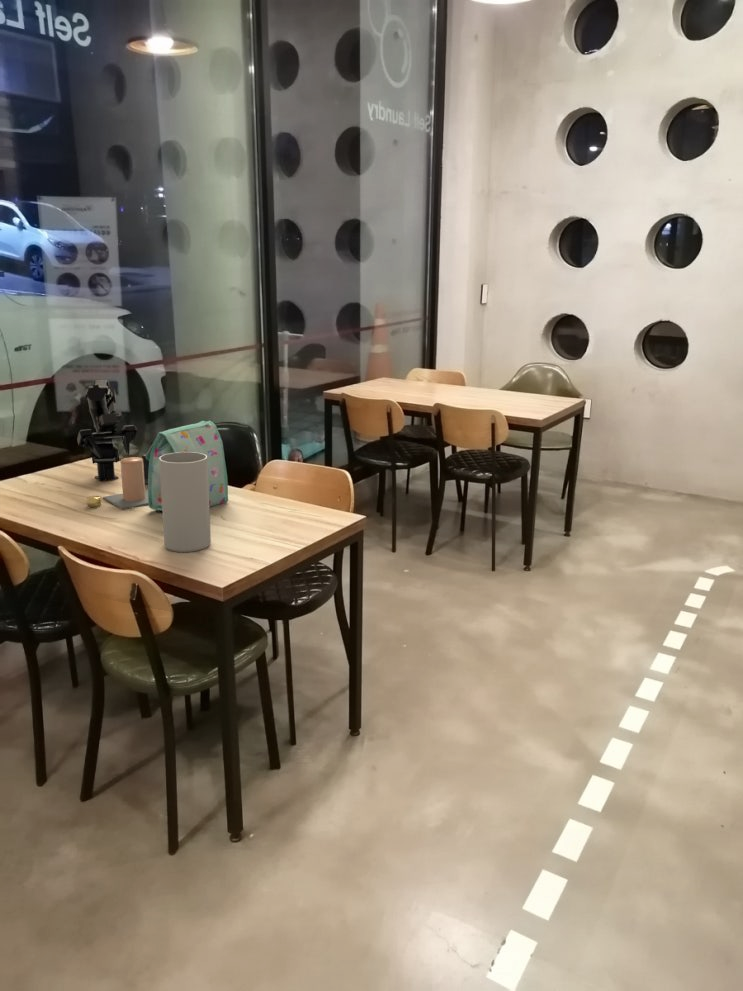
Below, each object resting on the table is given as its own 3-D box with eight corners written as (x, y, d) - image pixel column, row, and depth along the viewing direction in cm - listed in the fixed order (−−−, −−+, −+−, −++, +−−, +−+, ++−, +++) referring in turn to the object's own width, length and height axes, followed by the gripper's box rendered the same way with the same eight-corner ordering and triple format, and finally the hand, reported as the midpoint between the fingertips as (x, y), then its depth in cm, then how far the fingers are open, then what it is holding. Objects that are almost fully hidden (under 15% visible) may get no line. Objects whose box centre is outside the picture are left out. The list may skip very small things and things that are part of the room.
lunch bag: (198, 494, 260) (194, 415, 253) (233, 503, 252) (230, 421, 244) (143, 510, 242) (138, 426, 234) (180, 520, 233) (175, 433, 226)
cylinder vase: (192, 534, 221) (188, 449, 214) (220, 544, 214) (216, 457, 207) (155, 545, 212) (149, 457, 205) (183, 556, 204) (178, 465, 197)
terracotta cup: (119, 499, 251) (116, 460, 247) (134, 494, 257) (131, 456, 253) (134, 502, 248) (131, 463, 244) (149, 497, 254) (147, 458, 250)
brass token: (85, 506, 245) (84, 497, 245) (98, 504, 248) (97, 495, 247) (90, 509, 242) (89, 500, 242) (102, 507, 245) (102, 497, 244)
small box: (160, 485, 269) (158, 456, 266) (142, 484, 270) (140, 455, 267) (172, 478, 279) (170, 449, 276) (155, 477, 280) (153, 448, 277)
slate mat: (103, 498, 253) (103, 496, 253) (146, 491, 263) (146, 489, 262) (121, 509, 242) (121, 507, 242) (166, 501, 252) (166, 499, 251)
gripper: (76, 405, 248) (90, 445, 243) (133, 401, 259) (147, 439, 254) (71, 425, 257) (84, 464, 251) (126, 420, 267) (140, 457, 262)
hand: (114, 456), depth 254 cm, fingers open, 9 cm apart
